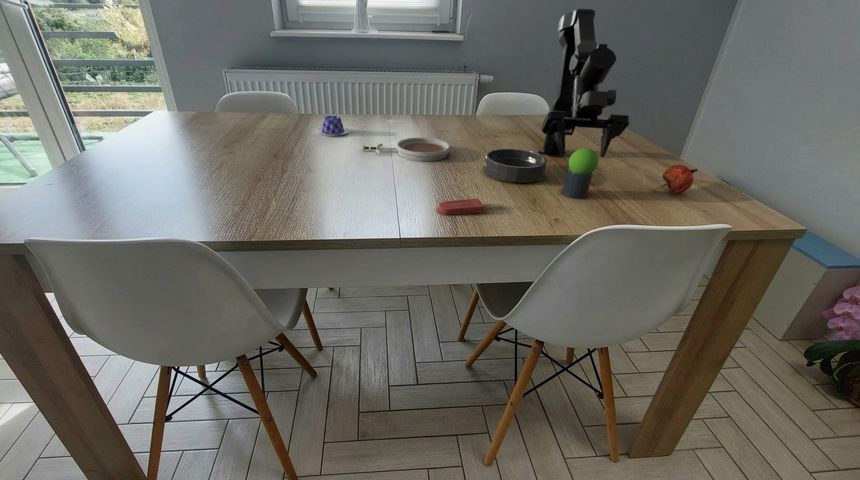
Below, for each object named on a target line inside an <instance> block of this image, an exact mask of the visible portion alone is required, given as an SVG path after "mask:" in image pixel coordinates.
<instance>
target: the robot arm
mask: <svg viewBox="0 0 860 480" xmlns="http://www.w3.org/2000/svg"><path fill="white" fill-rule="evenodd" d="M595 16H596V10H595V9H593V8H576V9H574V10H573V11H571V12H568V13H565V14H563V15H562V16H561V17H560V19H559V21H558V22H559V23H558V26H557V32H558V42H559V44H560V46H561V48H562V54H561V61H560V69H559V75H558V83H557V90H556V97H555V101H554V103H552V104H551V106H550V108H549V109H548V111H547V113H546V115H545V117H544V119H543V122H542V124H541V133H542V134H543V135H545V138H544V142H543V146H542V148H541V149H539V150H538V153H537V154H542V155H546V156H547V155H548V156H552V157H555V158H557V157H560V156H562V155H563V156H564V155H565V153H566V136H573V135H574V132H575V129H576V128H583V129H584V128H586V129H600V130H601V129H602V135H601V138H600V157H601V158H604V157H605V155H606V154H607V151H608V148H609V147H610V144H611V142H612V140H613V139H615V138H617V137H620V136H621V135H622V134H623V133H624V131H625V130H626V129H627V128H628V126H630V121H631V120H630V119H631V118H630V116H629V115H628V114H627V113H611V114H610V115H609V116H608V118H607V119H603V118H602V119H601V118H598V117H600V116H601V115H602V114H603V109H604V108H605V109H606V108H607V107H612V106H613V105H615V104H616V101H617V90H616V89H608V90H607V91H604V90H603V91H602V90H601V91H600V90H599V89H600V84H602V83H604V81H605V79H606V78H607V76H608V74H609V73H610V72H611V70H612V68H614V67H613V66H614V65H615V64H616V62H617V55H616V53H615V52H614V51H613V50H612V49H610V48H608V43H597V41H596V40H597V39H596V30H595Z"/></svg>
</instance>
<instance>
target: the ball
mask: <svg viewBox="0 0 860 480" xmlns="http://www.w3.org/2000/svg"><path fill="white" fill-rule="evenodd" d="M598 164H599V156H598V154H597V152H596V151H595V150H594V149H591V148H588V147H583V148H579V149H577V150H576V151H574V152H572V154H571V156H570V157H569V160H568V168H570V170H571V171H572V172H574V173H578V174H590V173H592V172H594V171H595V170H596V169H597V167H598Z"/></svg>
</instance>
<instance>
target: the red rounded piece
mask: <svg viewBox="0 0 860 480" xmlns="http://www.w3.org/2000/svg"><path fill="white" fill-rule="evenodd" d="M696 172H698V168H694V169H690V168H689V167H688V166H687V165H684V164H683V165H682V164H674V165H671V166H669V167H668V168H666V169H665V170H664V171H663V173H662V179H663V181H664V182H665V183H664V184H663V185H661V186H658V187H656V188H654V189H653V190H652V191H657V190H659V189H661V188H663V187H666V189H667V190H668V191H669V192H671V194H673V195H681V194H683V193H685V192H687V191H688V190H690V189H691V187H692V185H693V184H694V179H695V178H694V176H693V175H694V173H696Z"/></svg>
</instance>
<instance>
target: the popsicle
mask: <svg viewBox="0 0 860 480" xmlns="http://www.w3.org/2000/svg"><path fill="white" fill-rule="evenodd" d="M501 205H502V202H490V203H483V202H482V201H481V200H480V199H479V198H466V199H458V200H447V201H446V200H445V201H441V202H440V203H439V204H438V209H437V210H438V212H439V213H441V214H442V215H448V216H450V215H451V216H452V215H468V214H483V213H484V212H485V207H491V206H493V207H494V206H501Z"/></svg>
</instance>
